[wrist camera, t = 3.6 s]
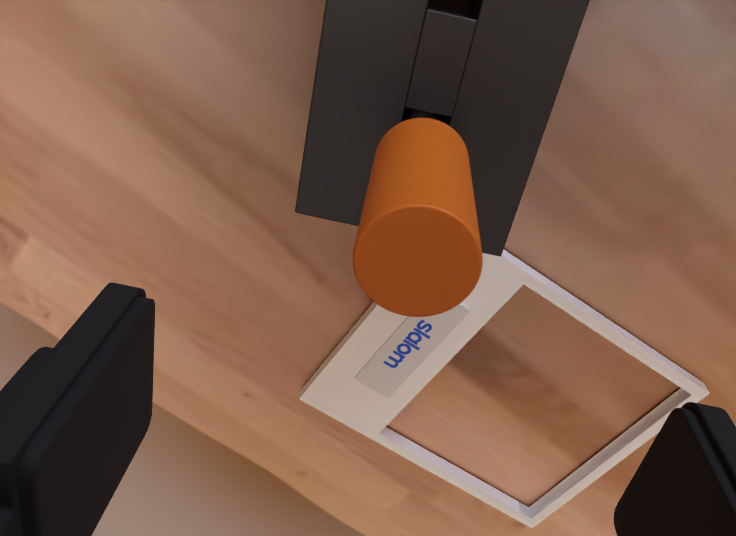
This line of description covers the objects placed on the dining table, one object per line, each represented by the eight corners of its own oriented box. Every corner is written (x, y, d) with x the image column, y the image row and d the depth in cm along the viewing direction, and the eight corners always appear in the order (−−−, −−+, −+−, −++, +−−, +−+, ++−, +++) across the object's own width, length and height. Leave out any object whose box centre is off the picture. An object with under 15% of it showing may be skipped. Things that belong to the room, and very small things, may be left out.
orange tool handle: (467, 66, 29) (499, 220, 15) (449, 134, 30) (463, 329, 16) (398, 51, 29) (365, 191, 15) (383, 119, 30) (342, 304, 16)
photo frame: (448, 221, 31) (710, 396, 35) (447, 212, 32) (703, 382, 36) (298, 401, 38) (532, 531, 42) (301, 388, 39) (530, 516, 43)
